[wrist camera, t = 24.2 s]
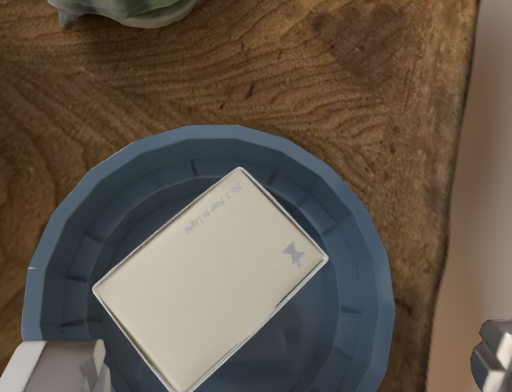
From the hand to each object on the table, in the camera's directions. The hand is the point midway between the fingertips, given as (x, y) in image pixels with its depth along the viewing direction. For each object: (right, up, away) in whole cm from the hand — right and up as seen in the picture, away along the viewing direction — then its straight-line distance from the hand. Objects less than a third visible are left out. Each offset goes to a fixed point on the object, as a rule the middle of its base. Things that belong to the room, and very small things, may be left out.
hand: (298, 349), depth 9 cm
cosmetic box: (-3, -3, +15) cm, 16 cm away
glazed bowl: (-3, -3, +16) cm, 16 cm away
